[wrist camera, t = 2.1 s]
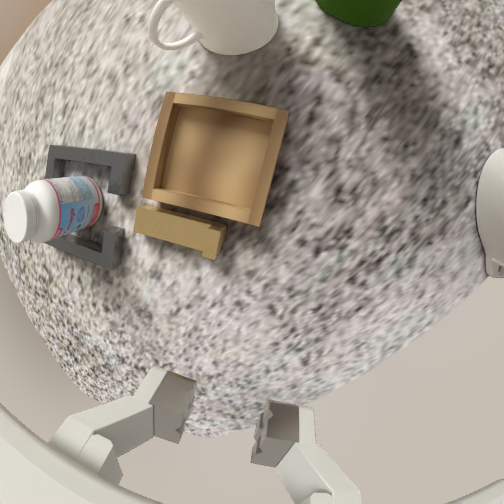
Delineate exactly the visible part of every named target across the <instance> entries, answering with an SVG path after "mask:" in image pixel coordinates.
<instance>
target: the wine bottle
mask: <svg viewBox="0 0 504 504" xmlns="http://www.w3.org/2000/svg"><path fill="white" fill-rule="evenodd" d="M316 1H317V3H318V4H319V6H320V7H321V8H322V9H323V10H324V11H325V12H327V13H328V14H330V15H331V16H332V17H334V18H336V19H338V20H340V21H342V22H345V23H348V24H351V25H355V26H362V27H373V26H377V25H380V24H383V23H384V22H385V21H387V20H388V19H389V18H390V16H391V15H392V13H393V12H394V11H395V9H396V8H397V6H398V5H399V4H400V2H401V1H402V0H316Z"/></svg>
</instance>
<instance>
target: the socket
mask: <svg viewBox="0 0 504 504" xmlns="http://www.w3.org/2000/svg"><path fill="white" fill-rule="evenodd" d="M135 156H136V154H130V153H123V152H116V151H108V150H100V149H92V148H83V147H73V146H62V145H50V147H49V153H48V160H47V167H46V175H45V179H53V178H63V172H64V165H65V159H66V160H73V161H80V162H87V163H93V164H99V165H106V166H112V167H111V173H110V180H109V186H108V193H112V194H116V195H122V194H128V193H129V189H130V183H131V177H132V172H133V167H134V161H135ZM123 236H124V229H122V228H119V227H115V226H112V227H110V228H107V229H104V231H103V245H100V244H97V243H94V242H91V241H88V240H85V239H82V238H80V237H77V236H74V235H71V234H66V235H63V236H60V237H58V238H55V239H52V240H49V241H46V242H44V243H46V244H48V245H51V246H53V247H55V248H58V249H60V250H62V251H65V252H67V253H70V254H72V255H75V256H77V257H80V258H82V259H85V260H87V261H90V262H92V263H95V264H98V265H100V266H103V267H106V268H108V269H111V270H113V269H114V268H116V267H117V266H119V265H121V259H122V247H123Z"/></svg>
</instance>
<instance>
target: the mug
mask: <svg viewBox="0 0 504 504" xmlns="http://www.w3.org/2000/svg"><path fill="white" fill-rule="evenodd" d="M173 2H175V4H176V5H177V6H178V8H179V9H180V11H181V12H182V13H183V15H184V16H185V17H186V19H187V20H188V22H189V23H190V25H191V26H192V27H193V29H194V30H195V31H194V32H193V33H192V34H191V35H190V36H188V37H187V38H185V39H183V40H181V41H178V42H175V43H170V44H166V43H162V42H160V40H159V39H158V36H157V27H158V23H159V21H160V18H161V16H162V15H163V13H164V11H165V10H166V9H167V8H168V6H169V5H170V4H172V3H173ZM277 29H278V16H277V13H276V11H275V1H274V0H159V1H158V3H157V4H156V6H155V7H154V9H153V11H152V14H151V16H150V20H149V25H148V32H149V36H150V39H151V40H152V42H153V43H154V44H155V45H156V46H158V47H159V48H162V49H165V50H177V49H181V48H184V47H187V46H189V45H191V44H193V43H195V42H196V41H198V40H199V42H200V43H201V44H202V45H203V46H204V47H205V48H206V49H208V50H210V51H212V52H215V53H218V54H223V55H240V54H246V53H249V52H252V51H255V50H257V49H259V48H261V47H263V46H264V45H266V44H267V43H268V42H269V41H270V40H271V39H272V38H273V37H274V35H275V33H276V31H277Z"/></svg>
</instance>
